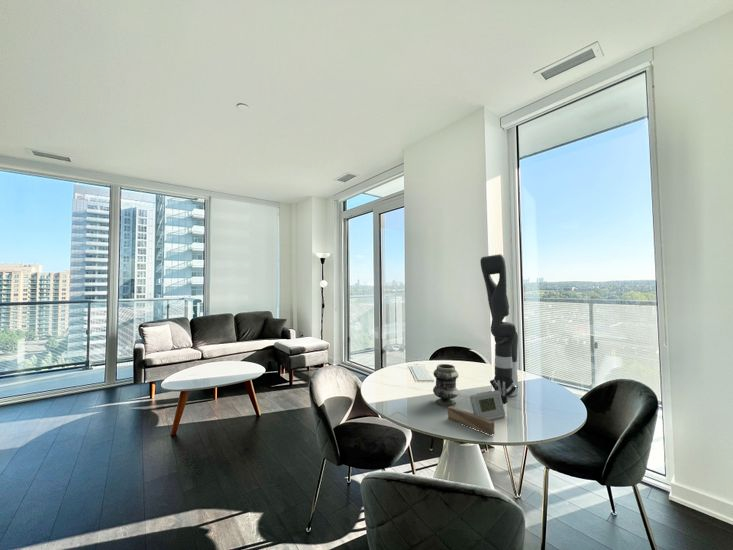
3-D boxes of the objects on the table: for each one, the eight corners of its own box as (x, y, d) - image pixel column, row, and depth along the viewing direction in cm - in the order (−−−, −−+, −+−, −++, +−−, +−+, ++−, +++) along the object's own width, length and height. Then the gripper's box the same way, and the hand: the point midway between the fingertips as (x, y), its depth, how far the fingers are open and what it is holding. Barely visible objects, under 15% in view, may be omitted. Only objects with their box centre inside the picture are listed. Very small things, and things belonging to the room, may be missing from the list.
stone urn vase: (455, 409, 150) (454, 370, 151) (429, 405, 156) (429, 367, 156) (461, 401, 161) (461, 364, 161) (437, 396, 167) (437, 361, 167)
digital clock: (475, 424, 136) (475, 398, 136) (465, 415, 145) (464, 391, 145) (510, 420, 139) (510, 395, 139) (498, 412, 148) (497, 388, 148)
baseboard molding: (413, 382, 191) (433, 383, 191) (413, 377, 191) (433, 378, 191) (406, 368, 222) (424, 368, 222) (406, 363, 222) (424, 363, 222)
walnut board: (451, 417, 142) (451, 406, 142) (494, 434, 126) (494, 421, 126) (448, 419, 141) (448, 407, 141) (490, 436, 125) (490, 423, 125)
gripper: (521, 367, 147) (522, 405, 147) (494, 361, 157) (494, 397, 157) (513, 370, 142) (513, 410, 142) (485, 364, 153) (486, 401, 153)
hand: (503, 403), depth 150 cm, fingers closed
